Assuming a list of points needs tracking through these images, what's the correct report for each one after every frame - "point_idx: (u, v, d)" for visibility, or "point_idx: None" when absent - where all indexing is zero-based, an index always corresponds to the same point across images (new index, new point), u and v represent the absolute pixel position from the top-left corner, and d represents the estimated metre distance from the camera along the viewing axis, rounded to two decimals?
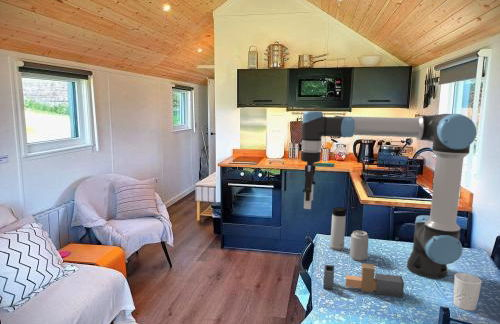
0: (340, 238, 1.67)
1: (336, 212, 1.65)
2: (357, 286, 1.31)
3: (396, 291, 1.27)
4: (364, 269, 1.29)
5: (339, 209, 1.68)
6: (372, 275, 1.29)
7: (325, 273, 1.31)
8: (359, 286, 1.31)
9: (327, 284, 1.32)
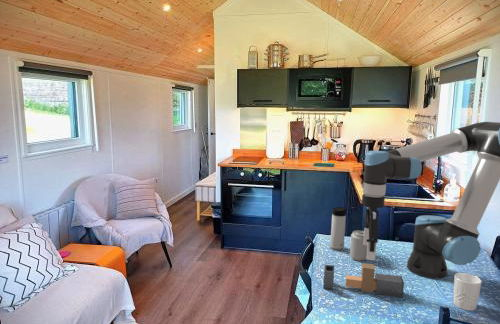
0: (340, 238, 1.67)
1: (336, 212, 1.65)
2: (357, 286, 1.31)
3: (396, 291, 1.27)
4: (364, 269, 1.29)
5: (339, 209, 1.68)
6: (372, 275, 1.29)
7: (325, 273, 1.31)
8: (359, 286, 1.31)
9: (327, 284, 1.32)
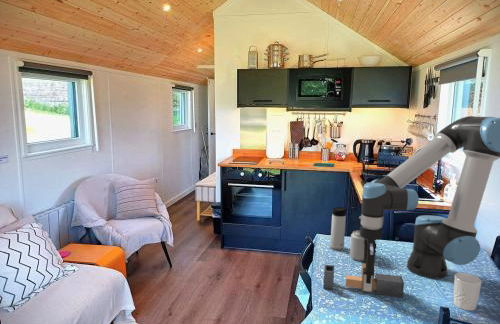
0: (340, 238, 1.67)
1: (336, 212, 1.65)
2: (357, 286, 1.31)
3: (396, 291, 1.27)
4: (364, 269, 1.29)
5: (339, 209, 1.68)
6: None
7: (325, 273, 1.31)
8: (359, 286, 1.31)
9: (327, 284, 1.32)
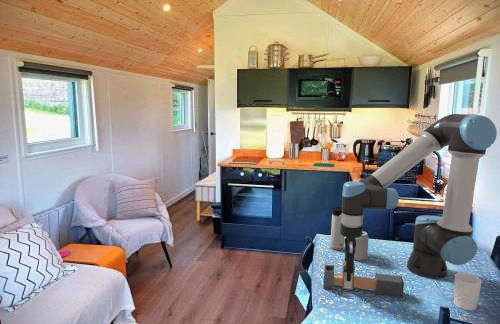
0: (340, 238, 1.67)
1: (336, 212, 1.65)
2: (338, 284, 1.32)
3: (396, 291, 1.27)
4: (344, 267, 1.30)
5: (339, 209, 1.68)
6: None
7: (325, 273, 1.31)
8: (340, 284, 1.32)
9: (327, 284, 1.32)
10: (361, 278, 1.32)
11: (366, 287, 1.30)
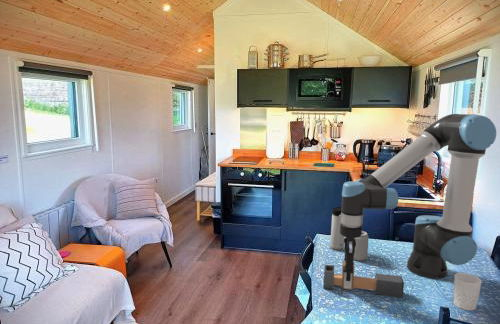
0: (340, 238, 1.67)
1: (336, 212, 1.65)
2: (337, 284, 1.32)
3: (396, 291, 1.27)
4: (344, 267, 1.30)
5: (339, 209, 1.68)
6: (352, 273, 1.30)
7: (325, 273, 1.31)
8: (339, 284, 1.32)
9: (327, 284, 1.32)
10: (361, 278, 1.32)
11: (366, 287, 1.30)
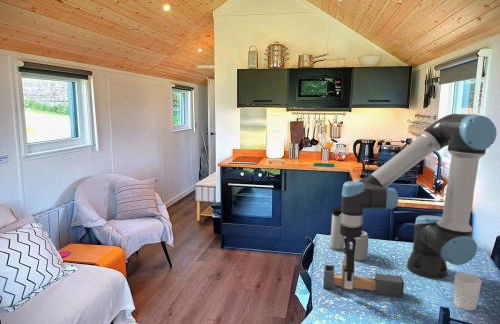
0: (340, 238, 1.67)
1: (336, 212, 1.65)
2: (337, 284, 1.32)
3: (396, 291, 1.27)
4: (344, 267, 1.30)
5: (339, 209, 1.68)
6: None
7: (325, 273, 1.31)
8: (339, 284, 1.32)
9: (327, 284, 1.32)
10: (361, 278, 1.32)
11: (366, 287, 1.30)
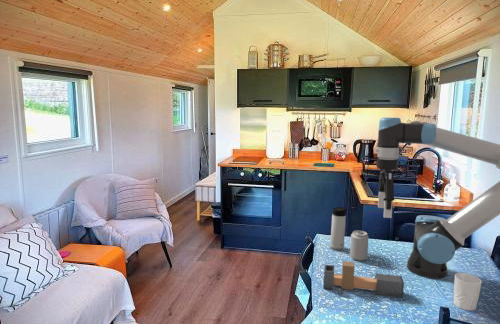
0: (340, 238, 1.67)
1: (336, 212, 1.65)
2: (337, 284, 1.32)
3: (396, 291, 1.27)
4: (344, 267, 1.30)
5: (339, 209, 1.68)
6: (352, 273, 1.30)
7: (325, 273, 1.31)
8: (339, 284, 1.32)
9: (327, 284, 1.32)
10: (361, 278, 1.32)
11: (366, 287, 1.30)
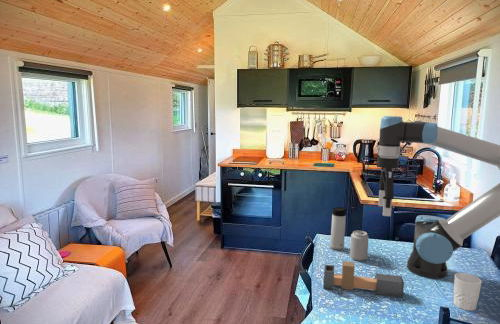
0: (340, 238, 1.67)
1: (336, 212, 1.65)
2: (337, 284, 1.32)
3: (396, 291, 1.27)
4: (344, 267, 1.30)
5: (339, 209, 1.68)
6: (352, 273, 1.30)
7: (325, 273, 1.31)
8: (339, 284, 1.32)
9: (327, 284, 1.32)
10: (361, 278, 1.32)
11: (366, 287, 1.30)
